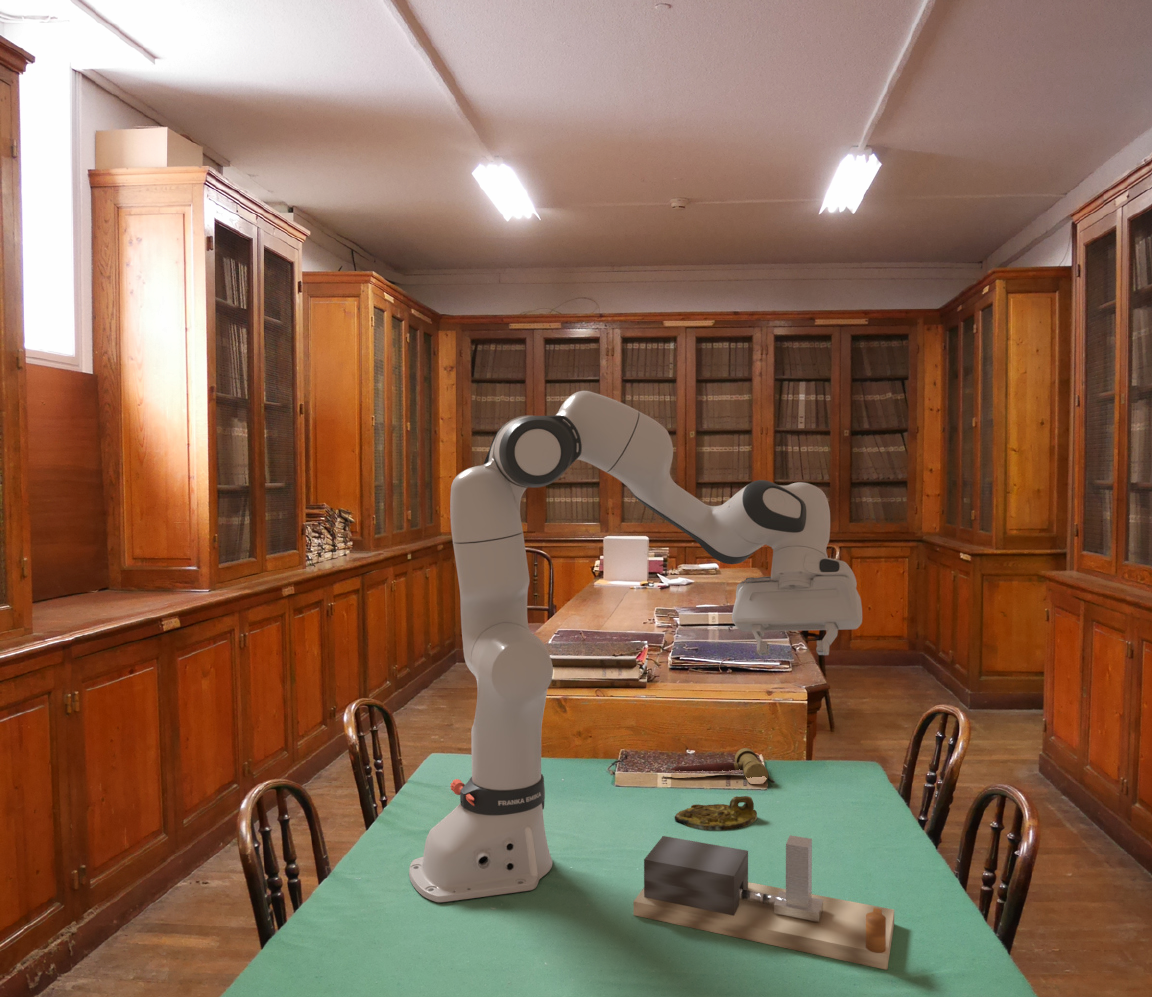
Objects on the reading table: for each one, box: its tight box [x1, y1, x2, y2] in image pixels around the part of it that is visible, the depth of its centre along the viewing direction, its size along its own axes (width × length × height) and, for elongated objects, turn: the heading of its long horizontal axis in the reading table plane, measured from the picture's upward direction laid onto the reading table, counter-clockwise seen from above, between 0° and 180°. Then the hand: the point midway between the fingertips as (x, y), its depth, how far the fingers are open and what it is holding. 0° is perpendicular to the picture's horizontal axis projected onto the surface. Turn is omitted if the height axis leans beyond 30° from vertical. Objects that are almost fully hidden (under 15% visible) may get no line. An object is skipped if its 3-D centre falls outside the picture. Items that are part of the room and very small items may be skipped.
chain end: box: [739, 834, 823, 922], centre depth 124 cm, size 23×4×10 cm, turn 66°
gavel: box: [670, 747, 769, 780], centre depth 179 cm, size 21×5×10 cm
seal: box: [674, 795, 758, 831], centre depth 157 cm, size 9×5×15 cm
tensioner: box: [633, 835, 895, 971], centre depth 123 cm, size 34×12×8 cm, turn 66°
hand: (791, 653), depth 135 cm, fingers open, 8 cm apart
